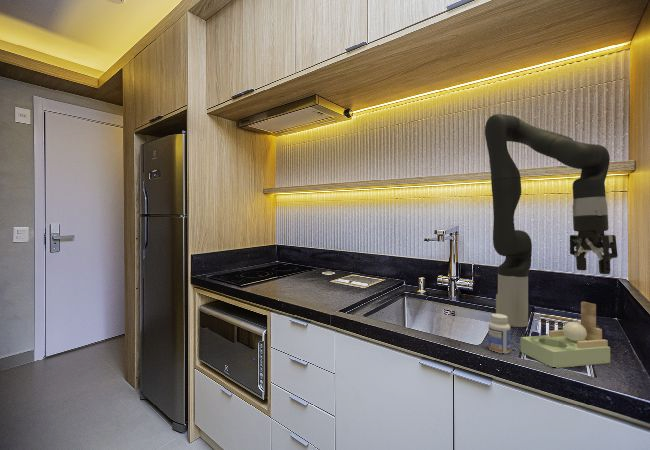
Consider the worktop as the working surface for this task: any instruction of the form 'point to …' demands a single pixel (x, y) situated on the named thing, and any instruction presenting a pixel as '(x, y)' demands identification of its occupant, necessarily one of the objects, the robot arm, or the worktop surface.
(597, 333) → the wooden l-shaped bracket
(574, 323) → the ball
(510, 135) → the robot arm
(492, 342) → the pill bottle
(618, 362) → the worktop surface
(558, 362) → the green tray
